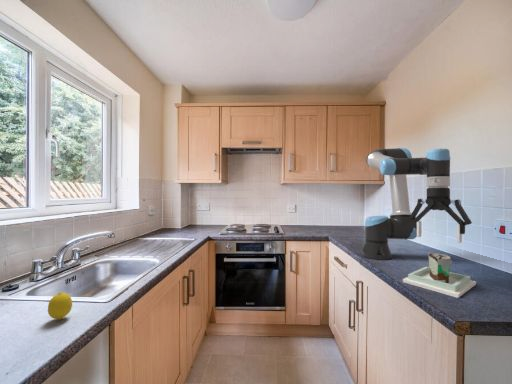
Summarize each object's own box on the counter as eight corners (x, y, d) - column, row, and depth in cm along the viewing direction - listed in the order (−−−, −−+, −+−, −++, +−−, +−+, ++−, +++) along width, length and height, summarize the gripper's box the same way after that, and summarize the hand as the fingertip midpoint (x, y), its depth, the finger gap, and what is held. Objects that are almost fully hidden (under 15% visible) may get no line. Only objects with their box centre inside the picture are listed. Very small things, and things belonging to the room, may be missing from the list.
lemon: (55, 326, 66) (55, 297, 66) (43, 322, 68) (43, 294, 68) (76, 316, 71) (76, 290, 71) (64, 313, 73) (64, 287, 73)
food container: (458, 287, 88) (458, 260, 88) (438, 285, 90) (438, 259, 90) (445, 276, 100) (445, 253, 100) (428, 274, 102) (428, 251, 102)
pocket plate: (402, 281, 97) (402, 274, 97) (424, 272, 109) (424, 265, 109) (458, 297, 82) (458, 288, 82) (476, 284, 94) (475, 276, 94)
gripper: (400, 187, 104) (400, 235, 104) (476, 186, 83) (476, 246, 84) (408, 187, 108) (408, 233, 108) (482, 186, 88) (482, 243, 88)
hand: (438, 239), depth 96 cm, fingers open, 13 cm apart
